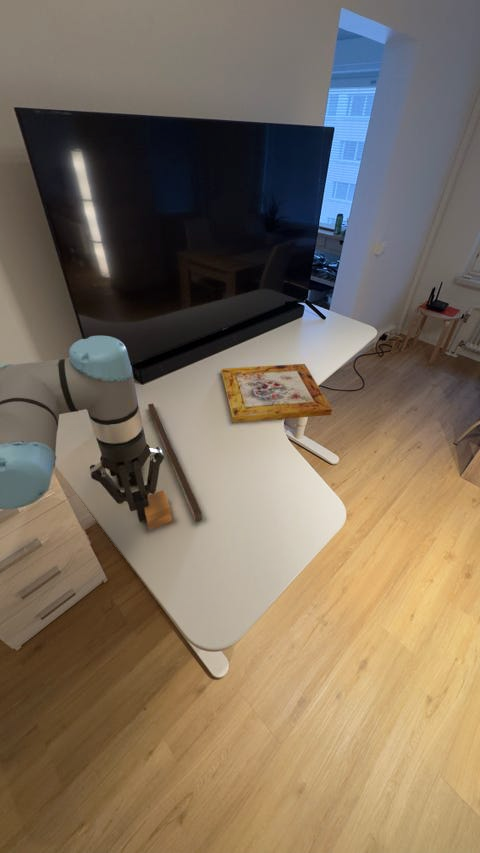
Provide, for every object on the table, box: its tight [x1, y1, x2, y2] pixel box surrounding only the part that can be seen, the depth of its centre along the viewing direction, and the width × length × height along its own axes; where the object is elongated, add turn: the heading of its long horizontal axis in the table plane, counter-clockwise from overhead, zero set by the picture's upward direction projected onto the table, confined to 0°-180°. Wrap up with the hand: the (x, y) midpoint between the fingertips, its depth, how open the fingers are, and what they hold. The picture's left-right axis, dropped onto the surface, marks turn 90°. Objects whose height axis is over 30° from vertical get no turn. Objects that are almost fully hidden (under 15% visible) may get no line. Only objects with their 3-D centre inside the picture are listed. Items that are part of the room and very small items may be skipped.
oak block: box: [144, 489, 173, 531], centre depth 72 cm, size 5×5×5 cm
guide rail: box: [147, 403, 203, 523], centre depth 87 cm, size 2×42×2 cm, turn 25°
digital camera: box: [109, 470, 138, 488], centre depth 81 cm, size 10×5×7 cm, turn 10°
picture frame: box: [220, 363, 333, 424], centre depth 110 cm, size 27×2×30 cm
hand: (141, 515), depth 71 cm, fingers closed
